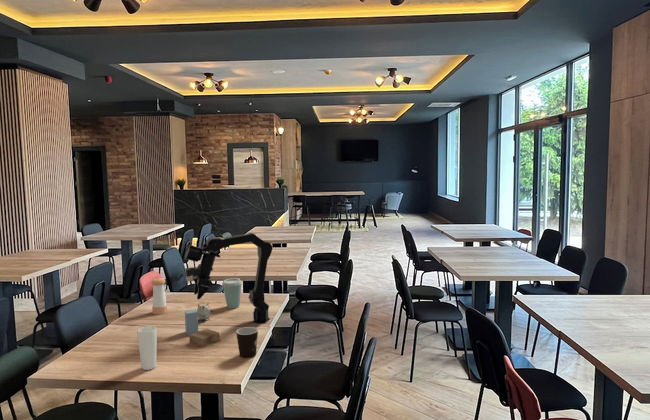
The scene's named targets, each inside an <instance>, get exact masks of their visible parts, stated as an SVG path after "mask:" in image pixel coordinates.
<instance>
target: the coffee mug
mask: <svg viewBox="0 0 650 420" xmlns="http://www.w3.org/2000/svg"><path fill="white" fill-rule="evenodd" d="M235 331H236V332H235V334H236V340H237V347H238V353H239V357H240V358H242V359H252V358H254V357H256V355H257V346H258V335H259V329H258V328H257V327H253V326H246V327H239V329H237V330H235Z"/></svg>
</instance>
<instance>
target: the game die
mask: <svg viewBox="0 0 650 420" xmlns="http://www.w3.org/2000/svg"><path fill="white" fill-rule="evenodd" d="M196 310H197V312H198V322H200V321H203V320H209V321H211V320H210V316H211V313H212V312H213V310H212V309H211V308H210V306H209V302H208V303H207V304H201V305H199V304H197V308H196Z"/></svg>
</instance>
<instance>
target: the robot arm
mask: <svg viewBox="0 0 650 420" xmlns="http://www.w3.org/2000/svg"><path fill="white" fill-rule="evenodd" d="M246 243H252V244H253V245H254V246H256V247H257V256H258V261H257V266H256V273H255V281H254V287H253V289H252V290H251V289H250V290H249V295H248V299H249V302H250V304H251V305H252V306H253V307H254V308H253V312H252V315H253V318H252V319H253V321H252V322H253V323H260V324H261V323H262V324H266V323H267V322H268V321H270V319H271V318H270V317H269V308H270V305H269V304H267V303H266V302H265V291H264V287H265V279H266V275H267V274H266V273H267V267H268V260H269V259H270V257H271V254H272V251H273V245H272V243H270V242H269V241H267V240H263V239H262V238H260V237H258V236H257V235H256V234H255V233H252V232H249V233H245V234H239V235H233V236H226V237H213V236H212V237H209V238H207V239H206V242H205V243H204V244H202V245H201V246H199V247H198V246H195V245H192V244H189V246H188V248H187V250H186V252H185V256H184V260H187V261H192V262H196V263H197V262H198V261H200V263H199V264H198V265H197V266H195V267H186V268H185V271H184V273H185V276H186V277H189V278H190V277H192V279H193V282H194V289H193V291H194V292H193V294H194V295H197V296H196V299H197V300H201V298H202V297H203V296H204V295H205V294H206V293H207V292H208V290H209V289H210V288H212V287H213V286H212V285H213V282H212V280H211V272H212V271H213V270H214V268H213V267H214V263H215V261H216V258H221V255H220V253H219V251H220V250H222V249H224V248H227V247H228V246H229V247H231V246H235V245H240V244H246Z"/></svg>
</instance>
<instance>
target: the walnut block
mask: <svg viewBox="0 0 650 420" xmlns="http://www.w3.org/2000/svg"><path fill="white" fill-rule="evenodd" d="M188 336H189V343H190V344H193V345H195V346H198V347H201V348H205V347H207V346H210V345H212V344H215V343H218V342H220V341H221V339H220V338H221V337H220V332H218V331H215V330H212V329H209V328H204V329H201V330H198V332H195V333H192V334H190V335H188Z"/></svg>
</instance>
